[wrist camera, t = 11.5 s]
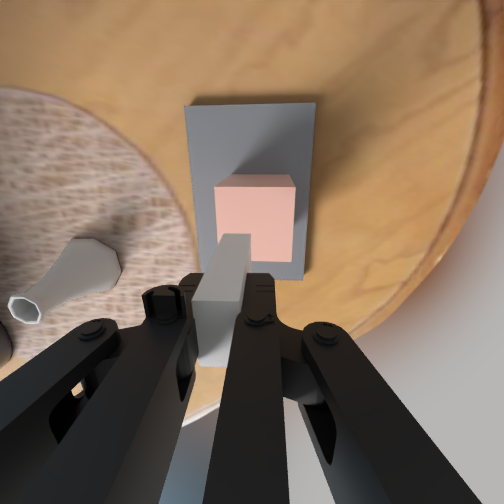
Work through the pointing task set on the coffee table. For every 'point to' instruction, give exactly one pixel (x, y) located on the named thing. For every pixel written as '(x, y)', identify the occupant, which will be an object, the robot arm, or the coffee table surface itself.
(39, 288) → the flask
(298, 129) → the post board
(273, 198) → the pink upright block
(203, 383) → the coffee table surface
